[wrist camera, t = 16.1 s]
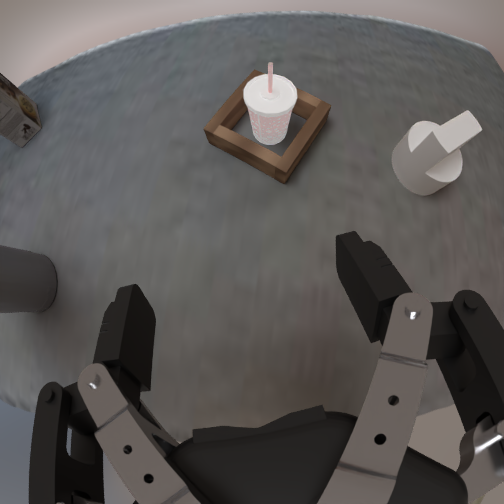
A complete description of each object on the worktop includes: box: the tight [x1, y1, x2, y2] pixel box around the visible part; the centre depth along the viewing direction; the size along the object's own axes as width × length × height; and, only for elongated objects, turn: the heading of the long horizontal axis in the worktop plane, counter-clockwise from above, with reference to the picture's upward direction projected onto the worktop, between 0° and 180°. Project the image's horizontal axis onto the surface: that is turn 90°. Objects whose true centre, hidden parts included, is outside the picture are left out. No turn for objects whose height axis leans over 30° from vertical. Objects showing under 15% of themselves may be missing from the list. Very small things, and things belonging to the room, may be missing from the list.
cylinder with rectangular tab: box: [392, 110, 482, 196], centre depth 31 cm, size 9×9×12 cm
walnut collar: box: [204, 70, 331, 184], centre depth 36 cm, size 12×12×4 cm
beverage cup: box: [244, 62, 297, 145], centre depth 31 cm, size 6×6×14 cm
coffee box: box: [0, 73, 42, 148], centre depth 34 cm, size 9×6×16 cm
